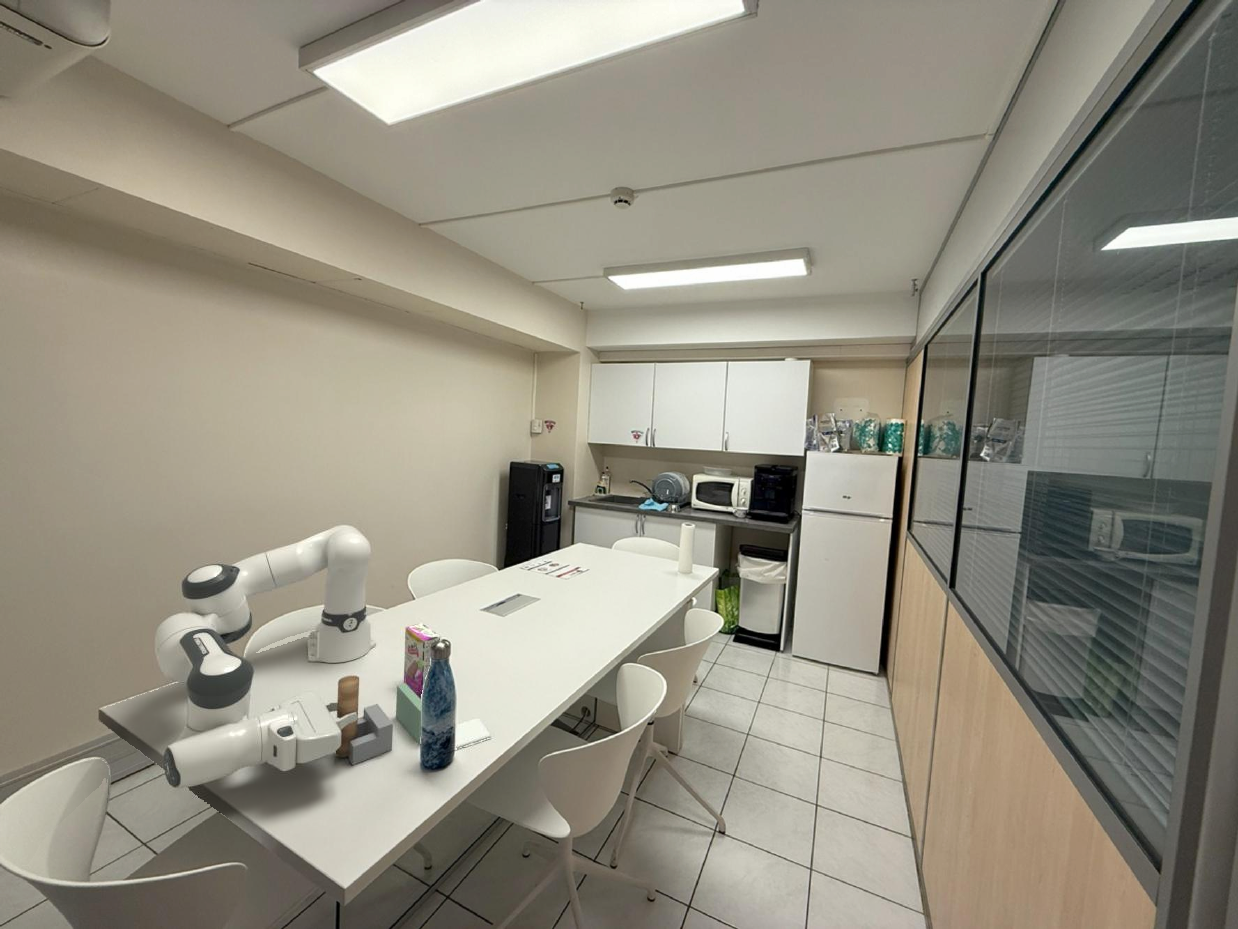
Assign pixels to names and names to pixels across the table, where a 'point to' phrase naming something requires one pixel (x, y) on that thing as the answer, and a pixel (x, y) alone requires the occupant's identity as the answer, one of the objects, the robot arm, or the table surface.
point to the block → (371, 735)
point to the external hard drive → (470, 733)
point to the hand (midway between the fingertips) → (352, 709)
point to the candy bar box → (417, 655)
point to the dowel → (347, 703)
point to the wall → (409, 710)
